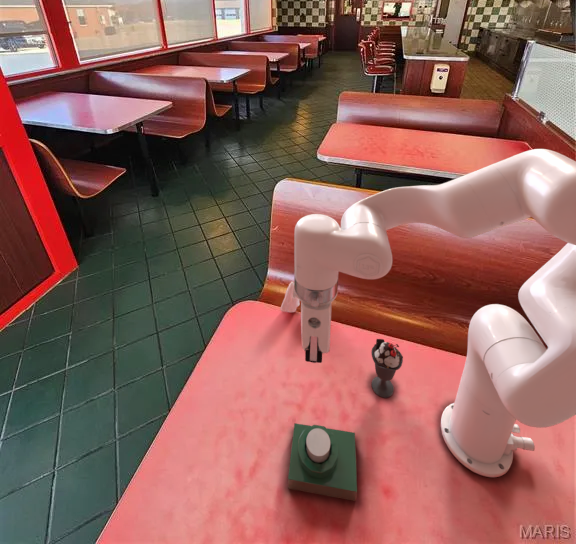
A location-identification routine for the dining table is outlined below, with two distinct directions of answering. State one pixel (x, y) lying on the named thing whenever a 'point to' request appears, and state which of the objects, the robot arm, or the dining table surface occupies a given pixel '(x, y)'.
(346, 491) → the button base
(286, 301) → the shaker set
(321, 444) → the white button cap
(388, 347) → the sundae
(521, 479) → the dining table surface
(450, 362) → the dining table surface
